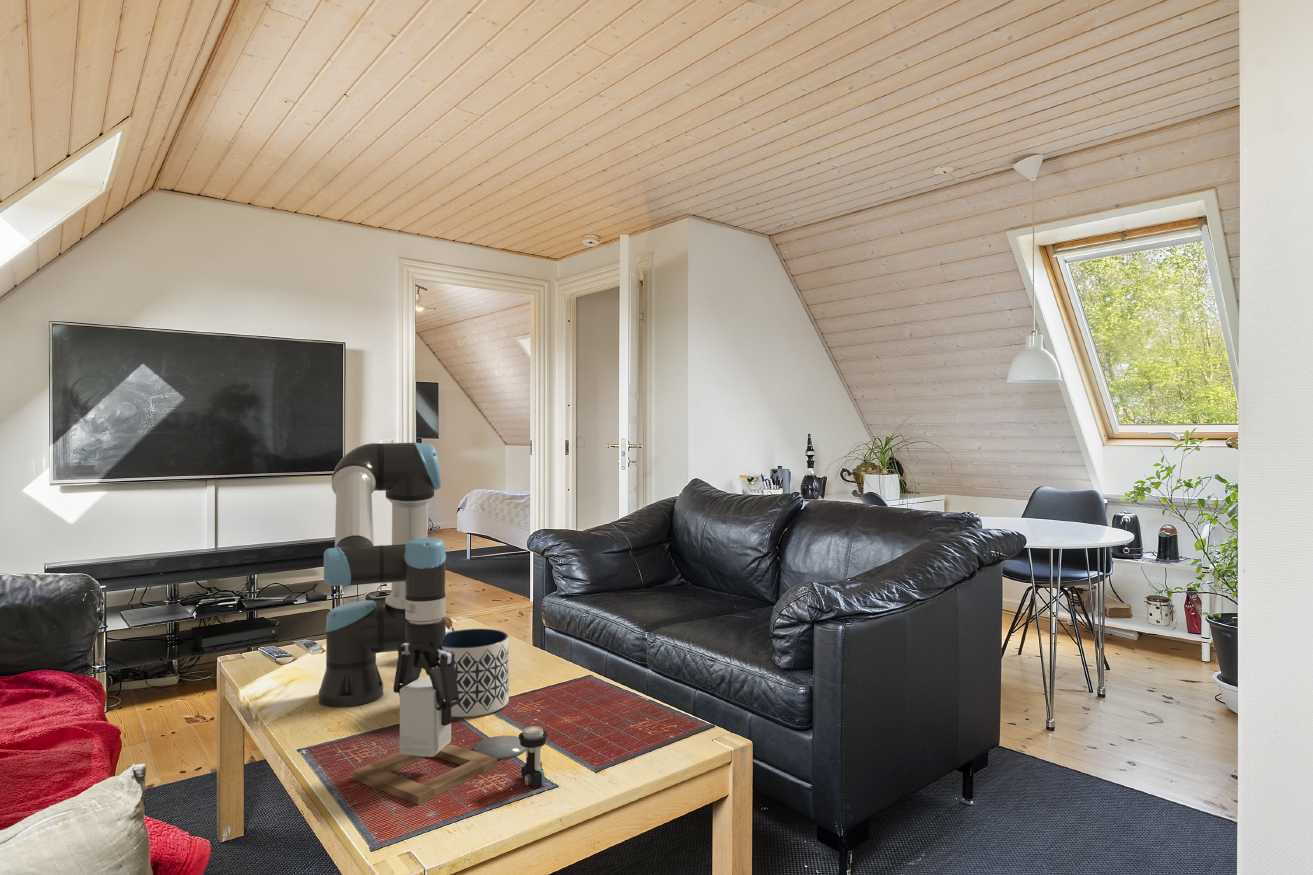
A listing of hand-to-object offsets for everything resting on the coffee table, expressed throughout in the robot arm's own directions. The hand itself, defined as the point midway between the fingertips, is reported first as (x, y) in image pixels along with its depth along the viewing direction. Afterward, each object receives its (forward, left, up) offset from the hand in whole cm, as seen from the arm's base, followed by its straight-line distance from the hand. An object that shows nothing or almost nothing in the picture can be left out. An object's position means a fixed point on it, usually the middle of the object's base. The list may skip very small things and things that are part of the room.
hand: (425, 735), depth 146 cm
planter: (-21, +31, -7) cm, 38 cm away
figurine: (-60, +54, -7) cm, 81 cm away
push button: (+20, +8, -7) cm, 23 cm away
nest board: (0, 0, -7) cm, 7 cm away
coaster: (+4, +16, -7) cm, 18 cm away
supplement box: (0, 0, -3) cm, 3 cm away
